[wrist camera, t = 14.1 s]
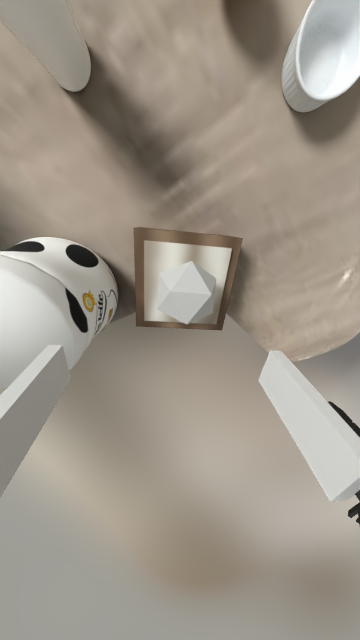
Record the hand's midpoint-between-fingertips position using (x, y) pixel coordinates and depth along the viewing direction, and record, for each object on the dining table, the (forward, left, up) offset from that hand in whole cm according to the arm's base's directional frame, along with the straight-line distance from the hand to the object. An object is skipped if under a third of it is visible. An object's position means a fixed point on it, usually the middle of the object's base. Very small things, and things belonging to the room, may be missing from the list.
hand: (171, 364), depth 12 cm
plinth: (+3, -1, -25) cm, 25 cm away
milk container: (-17, -4, -26) cm, 31 cm away
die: (+3, 0, -19) cm, 20 cm away
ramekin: (+17, +27, -26) cm, 41 cm away
